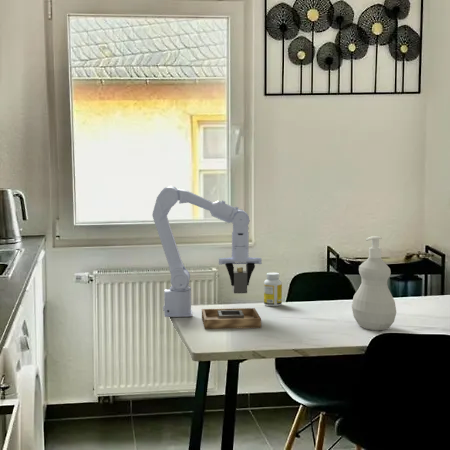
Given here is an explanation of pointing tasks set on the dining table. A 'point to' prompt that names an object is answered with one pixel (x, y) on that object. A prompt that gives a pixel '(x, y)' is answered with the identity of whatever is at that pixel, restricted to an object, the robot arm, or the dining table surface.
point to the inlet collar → (230, 314)
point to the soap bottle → (374, 292)
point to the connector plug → (240, 281)
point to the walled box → (249, 319)
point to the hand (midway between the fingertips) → (239, 285)
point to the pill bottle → (272, 290)
